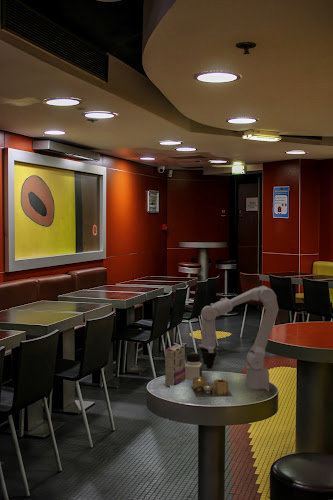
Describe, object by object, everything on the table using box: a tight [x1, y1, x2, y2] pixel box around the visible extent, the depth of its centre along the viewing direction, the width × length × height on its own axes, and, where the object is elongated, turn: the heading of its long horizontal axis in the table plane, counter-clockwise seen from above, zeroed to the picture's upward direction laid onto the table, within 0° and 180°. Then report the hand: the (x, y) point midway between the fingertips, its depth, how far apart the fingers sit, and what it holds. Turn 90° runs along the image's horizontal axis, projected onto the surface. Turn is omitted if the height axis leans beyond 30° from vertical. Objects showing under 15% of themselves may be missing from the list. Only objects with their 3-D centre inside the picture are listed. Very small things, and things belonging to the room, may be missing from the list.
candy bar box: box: [164, 344, 186, 388], centre depth 257 cm, size 11×5×16 cm, turn 154°
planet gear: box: [213, 378, 229, 395], centre depth 241 cm, size 6×6×5 cm
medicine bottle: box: [185, 352, 203, 381], centre depth 265 cm, size 7×7×12 cm
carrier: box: [190, 376, 234, 398], centre depth 244 cm, size 15×16×6 cm
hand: (208, 366), depth 249 cm, fingers open, 7 cm apart
